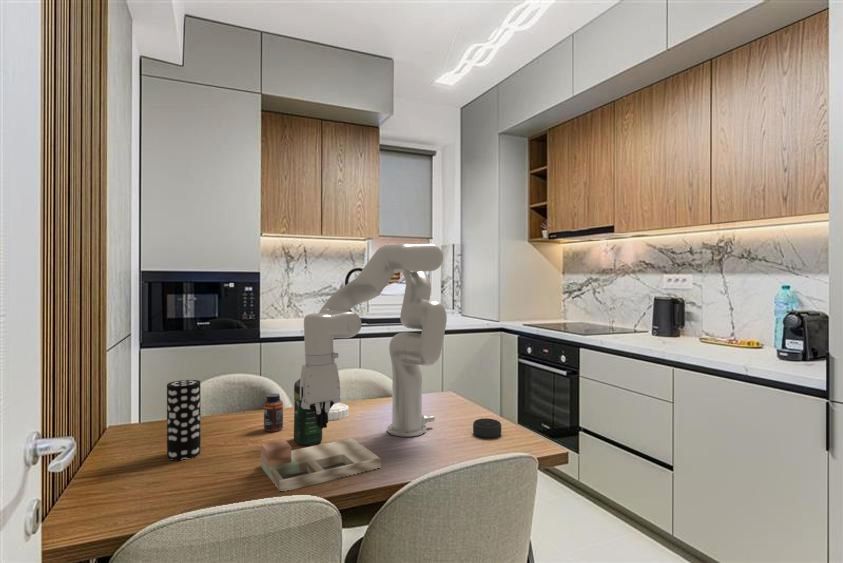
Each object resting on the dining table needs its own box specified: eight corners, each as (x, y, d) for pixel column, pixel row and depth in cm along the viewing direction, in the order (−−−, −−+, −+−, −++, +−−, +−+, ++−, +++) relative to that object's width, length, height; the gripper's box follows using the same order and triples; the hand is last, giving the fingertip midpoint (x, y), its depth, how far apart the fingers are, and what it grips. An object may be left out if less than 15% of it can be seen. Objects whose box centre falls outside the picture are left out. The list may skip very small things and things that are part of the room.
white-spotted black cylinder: (166, 463, 125) (166, 387, 125) (167, 452, 133) (167, 381, 132) (201, 457, 129) (201, 384, 129) (199, 447, 136) (199, 378, 136)
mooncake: (308, 419, 165) (308, 409, 165) (323, 410, 176) (323, 400, 176) (341, 422, 162) (341, 411, 162) (353, 412, 174) (353, 402, 174)
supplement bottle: (286, 427, 156) (286, 392, 156) (278, 432, 150) (278, 397, 150) (268, 426, 156) (268, 392, 156) (260, 432, 150) (260, 396, 150)
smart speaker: (474, 439, 145) (474, 426, 145) (471, 429, 154) (471, 417, 154) (503, 439, 145) (503, 426, 145) (498, 429, 154) (498, 417, 154)
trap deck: (352, 447, 138) (352, 438, 138) (380, 468, 122) (380, 458, 122) (260, 465, 124) (260, 456, 123) (280, 492, 108) (280, 481, 108)
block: (284, 454, 125) (284, 439, 125) (291, 462, 120) (291, 446, 120) (261, 459, 122) (261, 443, 122) (267, 467, 116) (267, 451, 116)
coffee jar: (325, 443, 140) (325, 381, 140) (298, 448, 137) (299, 384, 136) (316, 434, 149) (316, 375, 149) (291, 437, 145) (291, 377, 145)
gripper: (340, 353, 134) (342, 417, 135) (287, 361, 126) (290, 428, 127) (350, 358, 128) (353, 425, 128) (296, 365, 120) (299, 437, 120)
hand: (321, 426), depth 128 cm, fingers closed
